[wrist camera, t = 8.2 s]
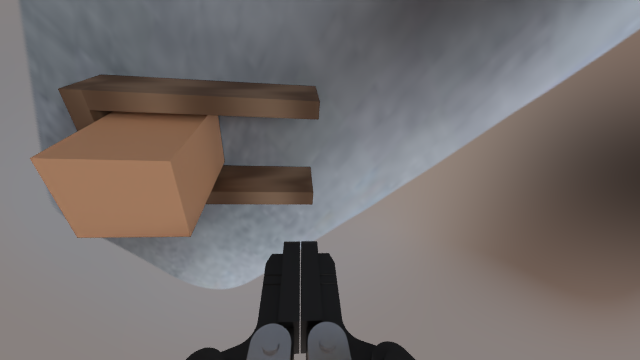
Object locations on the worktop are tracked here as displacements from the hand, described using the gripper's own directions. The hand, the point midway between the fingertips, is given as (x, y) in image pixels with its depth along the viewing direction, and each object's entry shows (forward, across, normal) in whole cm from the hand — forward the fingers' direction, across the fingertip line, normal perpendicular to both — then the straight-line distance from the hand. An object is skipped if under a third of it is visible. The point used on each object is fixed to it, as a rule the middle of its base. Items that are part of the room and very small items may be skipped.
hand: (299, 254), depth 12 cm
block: (+12, +9, -1) cm, 15 cm away
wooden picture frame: (+12, +6, 0) cm, 14 cm away
